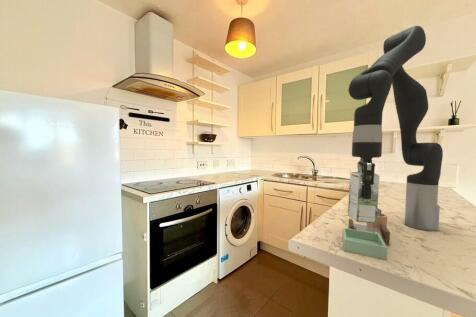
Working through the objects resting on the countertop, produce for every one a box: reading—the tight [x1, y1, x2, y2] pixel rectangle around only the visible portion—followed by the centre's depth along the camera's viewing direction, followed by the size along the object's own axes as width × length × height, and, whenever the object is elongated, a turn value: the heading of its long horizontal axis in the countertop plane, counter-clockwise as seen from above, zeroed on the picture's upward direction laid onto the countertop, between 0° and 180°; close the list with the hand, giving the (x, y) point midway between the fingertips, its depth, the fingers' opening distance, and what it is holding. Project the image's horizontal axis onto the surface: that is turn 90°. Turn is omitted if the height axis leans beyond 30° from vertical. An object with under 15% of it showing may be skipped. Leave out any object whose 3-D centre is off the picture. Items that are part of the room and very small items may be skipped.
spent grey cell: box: [377, 207, 382, 216], centre depth 74 cm, size 3×3×8 cm
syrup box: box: [347, 171, 380, 224], centre depth 60 cm, size 6×6×14 cm
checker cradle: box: [347, 218, 391, 246], centre depth 68 cm, size 11×8×4 cm
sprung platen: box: [354, 223, 382, 238], centre depth 68 cm, size 7×7×1 cm
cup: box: [365, 212, 388, 231], centre depth 74 cm, size 6×6×6 cm
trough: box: [342, 227, 388, 260], centre depth 61 cm, size 10×10×3 cm
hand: (364, 196), depth 60 cm, fingers closed on syrup box, 6 cm apart
